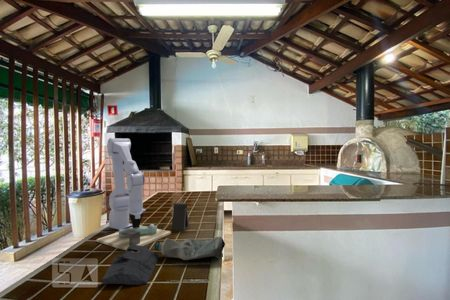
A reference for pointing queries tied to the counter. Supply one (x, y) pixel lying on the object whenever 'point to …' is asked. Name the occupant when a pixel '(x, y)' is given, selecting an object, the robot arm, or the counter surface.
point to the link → (142, 230)
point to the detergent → (191, 248)
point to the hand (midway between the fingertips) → (136, 230)
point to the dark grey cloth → (132, 266)
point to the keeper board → (125, 240)
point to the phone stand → (180, 216)
